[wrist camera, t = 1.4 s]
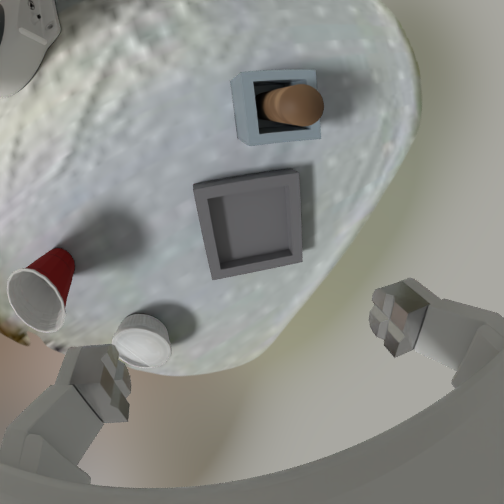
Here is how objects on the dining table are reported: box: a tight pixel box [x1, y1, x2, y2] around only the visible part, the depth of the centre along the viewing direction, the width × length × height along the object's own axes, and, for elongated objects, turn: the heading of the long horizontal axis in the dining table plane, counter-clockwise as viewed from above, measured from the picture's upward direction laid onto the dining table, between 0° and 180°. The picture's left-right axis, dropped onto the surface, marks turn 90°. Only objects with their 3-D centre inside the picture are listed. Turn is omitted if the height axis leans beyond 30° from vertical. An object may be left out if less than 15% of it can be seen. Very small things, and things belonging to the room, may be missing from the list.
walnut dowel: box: [255, 84, 324, 126], centre depth 28 cm, size 4×4×14 cm
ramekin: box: [112, 314, 172, 368], centre depth 47 cm, size 11×11×5 cm
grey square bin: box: [230, 69, 321, 146], centre depth 31 cm, size 8×8×9 cm
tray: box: [193, 169, 302, 280], centre depth 41 cm, size 15×15×3 cm
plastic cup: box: [7, 248, 75, 333], centre depth 34 cm, size 11×11×12 cm
